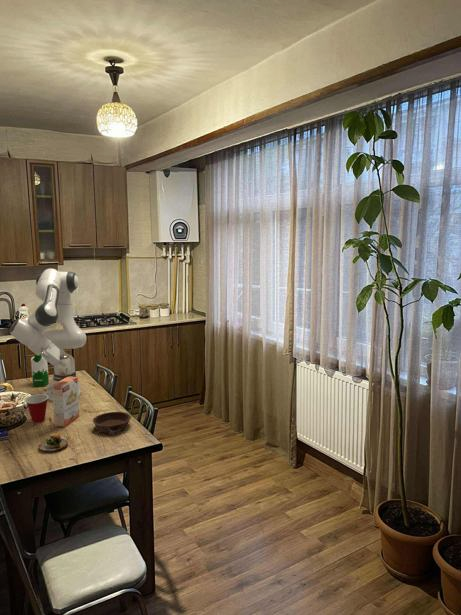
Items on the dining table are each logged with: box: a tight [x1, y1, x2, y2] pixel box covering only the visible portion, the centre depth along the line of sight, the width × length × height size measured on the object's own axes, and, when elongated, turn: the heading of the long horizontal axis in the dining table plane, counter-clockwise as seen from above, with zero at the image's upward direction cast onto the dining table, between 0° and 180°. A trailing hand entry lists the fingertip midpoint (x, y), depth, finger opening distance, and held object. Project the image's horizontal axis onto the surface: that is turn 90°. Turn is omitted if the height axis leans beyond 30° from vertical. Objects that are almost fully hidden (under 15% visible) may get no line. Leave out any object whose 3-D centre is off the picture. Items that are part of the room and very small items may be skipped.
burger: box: [38, 432, 69, 452], centre depth 197 cm, size 12×12×8 cm
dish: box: [92, 411, 132, 435], centre depth 217 cm, size 18×22×5 cm
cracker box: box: [52, 376, 80, 428], centre depth 224 cm, size 14×6×21 cm, turn 168°
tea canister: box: [58, 353, 71, 376], centre depth 219 cm, size 6×6×9 cm
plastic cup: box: [24, 393, 49, 424], centre depth 226 cm, size 11×11×12 cm
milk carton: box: [30, 353, 50, 388], centre depth 283 cm, size 9×9×20 cm
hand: (65, 364), depth 219 cm, fingers closed on tea canister, 5 cm apart
